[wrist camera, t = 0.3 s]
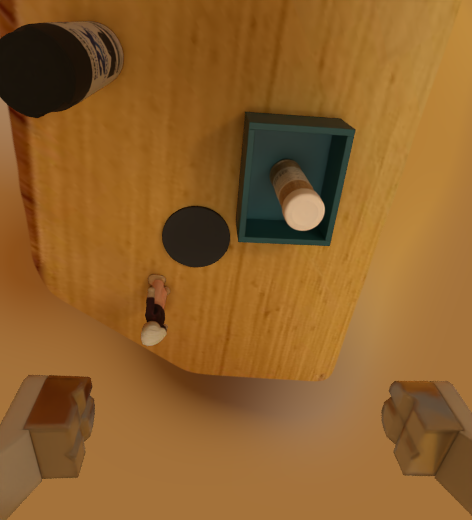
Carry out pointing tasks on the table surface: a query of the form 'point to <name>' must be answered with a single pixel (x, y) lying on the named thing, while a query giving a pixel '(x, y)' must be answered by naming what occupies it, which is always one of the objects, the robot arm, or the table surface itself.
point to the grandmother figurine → (155, 311)
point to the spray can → (56, 65)
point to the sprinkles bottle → (296, 196)
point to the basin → (311, 163)
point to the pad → (196, 236)
